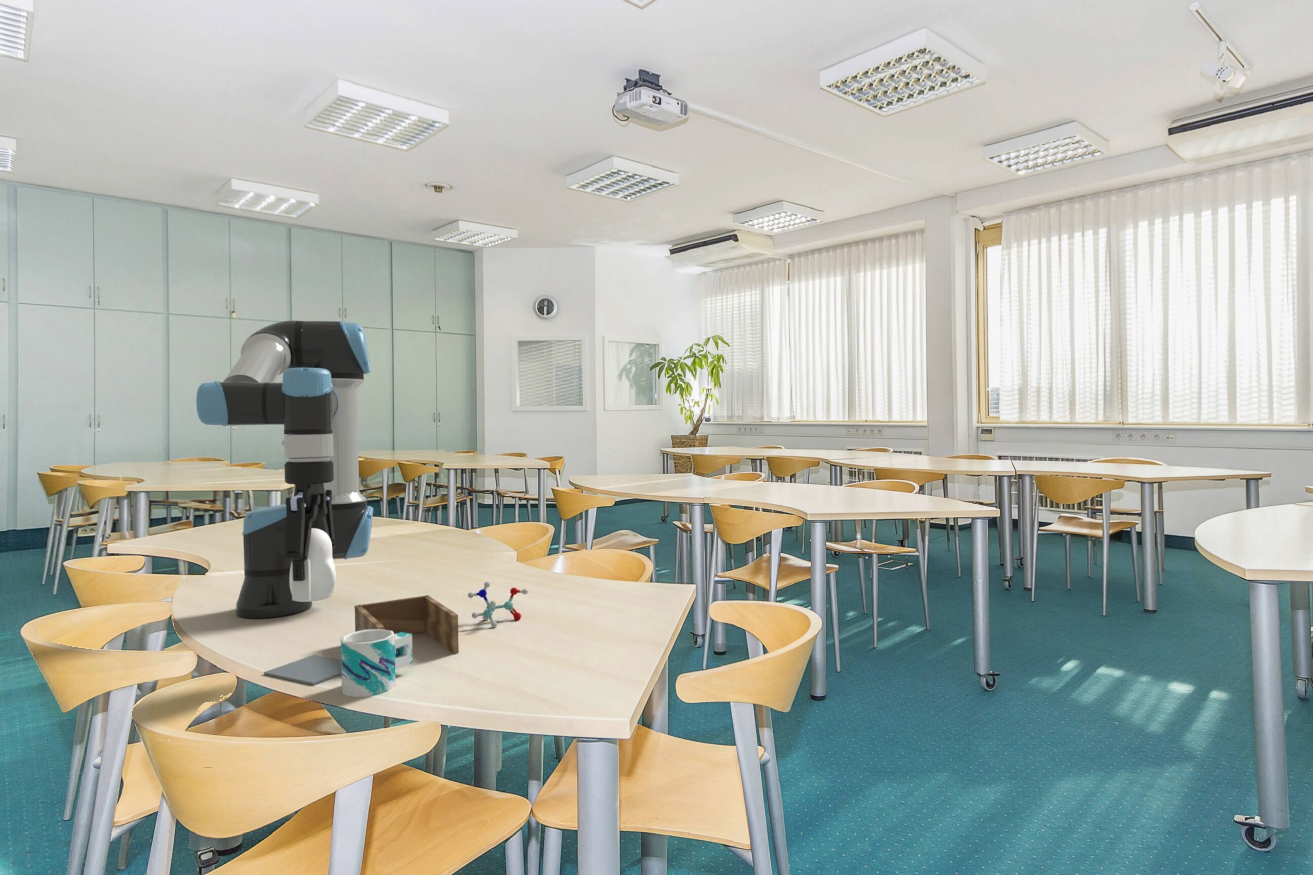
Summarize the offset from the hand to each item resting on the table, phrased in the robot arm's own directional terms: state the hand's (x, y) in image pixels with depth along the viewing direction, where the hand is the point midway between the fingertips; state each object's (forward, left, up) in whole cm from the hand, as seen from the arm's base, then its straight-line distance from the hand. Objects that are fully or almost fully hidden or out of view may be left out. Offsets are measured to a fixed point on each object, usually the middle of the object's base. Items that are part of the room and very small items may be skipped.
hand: (312, 593), depth 126 cm
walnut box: (+5, +16, -13) cm, 21 cm away
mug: (+15, 0, -13) cm, 20 cm away
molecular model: (+9, +37, -14) cm, 40 cm away
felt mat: (0, 0, -13) cm, 13 cm away
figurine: (0, 0, -1) cm, 1 cm away
